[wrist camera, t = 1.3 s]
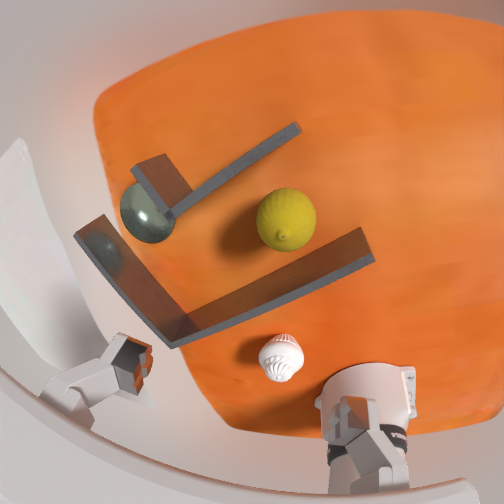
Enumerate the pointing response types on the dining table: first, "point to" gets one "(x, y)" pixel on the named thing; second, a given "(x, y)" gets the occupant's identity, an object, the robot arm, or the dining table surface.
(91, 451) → the robot arm
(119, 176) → the dining table surface
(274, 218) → the lemon
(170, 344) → the rail corridor
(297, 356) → the white rounded piece
